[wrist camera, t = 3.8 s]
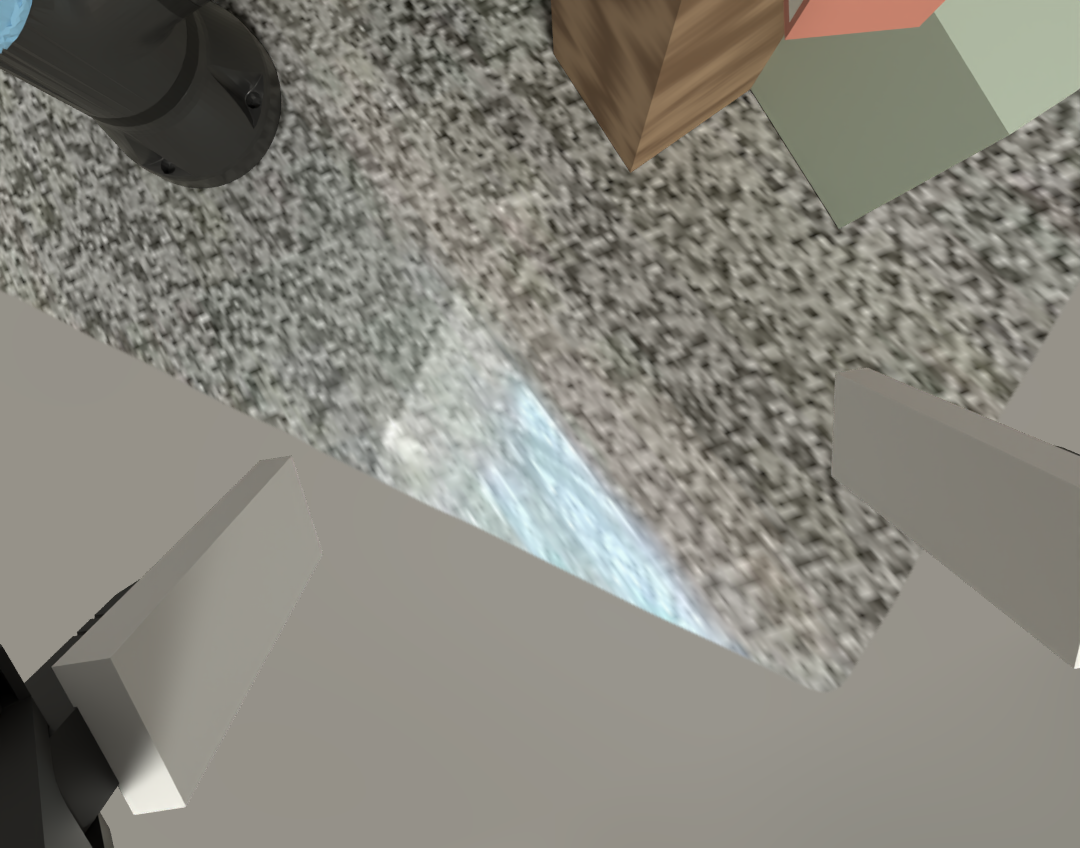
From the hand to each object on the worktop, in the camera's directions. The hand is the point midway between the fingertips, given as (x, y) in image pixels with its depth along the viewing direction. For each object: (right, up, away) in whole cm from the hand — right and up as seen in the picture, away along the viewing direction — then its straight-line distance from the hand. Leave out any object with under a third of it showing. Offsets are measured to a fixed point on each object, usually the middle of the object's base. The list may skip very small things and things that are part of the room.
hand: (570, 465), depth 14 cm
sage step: (+26, +27, +34) cm, 51 cm away
